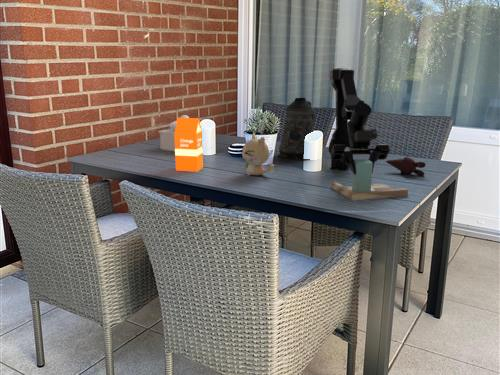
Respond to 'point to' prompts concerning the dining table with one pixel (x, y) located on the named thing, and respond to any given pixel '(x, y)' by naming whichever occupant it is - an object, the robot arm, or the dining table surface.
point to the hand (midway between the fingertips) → (363, 173)
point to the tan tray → (370, 192)
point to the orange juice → (188, 144)
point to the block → (362, 175)
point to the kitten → (256, 156)
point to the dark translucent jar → (296, 128)
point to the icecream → (407, 166)
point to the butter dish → (169, 136)
